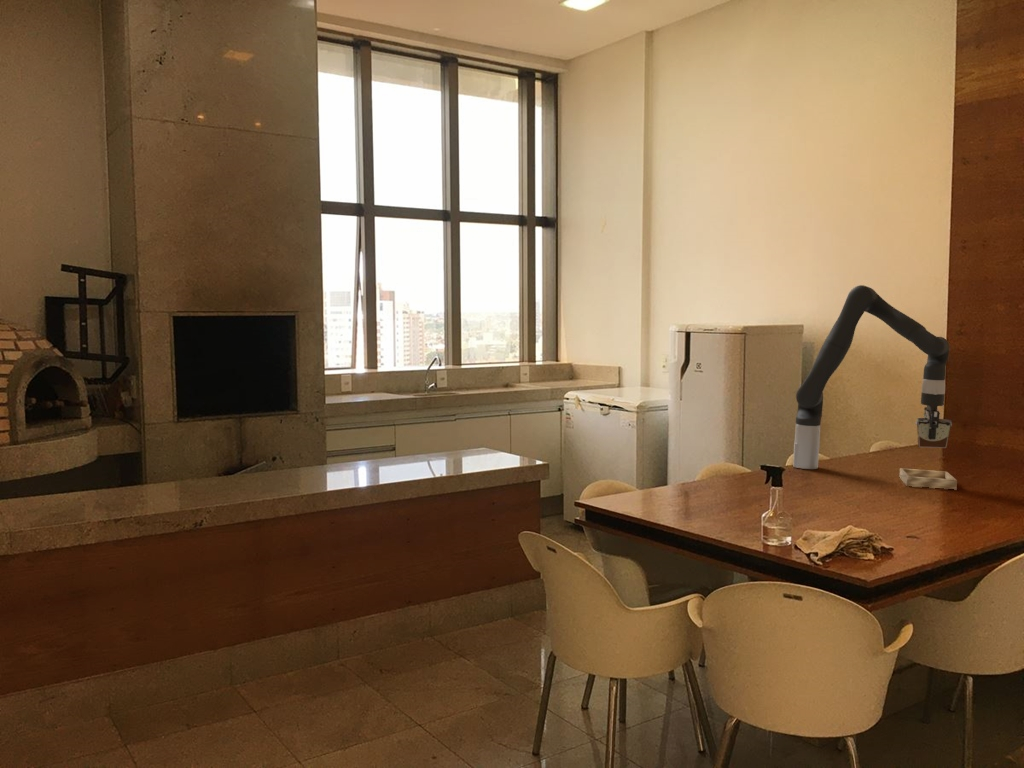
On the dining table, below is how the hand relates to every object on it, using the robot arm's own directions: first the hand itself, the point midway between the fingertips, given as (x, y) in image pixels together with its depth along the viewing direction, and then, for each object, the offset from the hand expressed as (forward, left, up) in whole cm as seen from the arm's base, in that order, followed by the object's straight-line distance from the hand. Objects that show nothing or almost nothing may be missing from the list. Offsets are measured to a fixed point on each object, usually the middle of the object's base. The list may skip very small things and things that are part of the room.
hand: (929, 437), depth 294 cm
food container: (0, 0, -3) cm, 3 cm away
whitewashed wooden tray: (0, 0, -17) cm, 17 cm away
